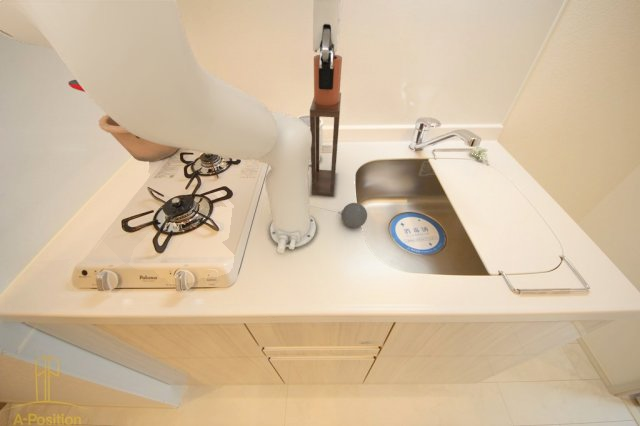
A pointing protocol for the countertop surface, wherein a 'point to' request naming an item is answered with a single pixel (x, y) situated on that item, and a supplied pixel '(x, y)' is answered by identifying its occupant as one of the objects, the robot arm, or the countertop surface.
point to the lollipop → (353, 215)
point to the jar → (307, 120)
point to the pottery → (136, 142)
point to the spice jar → (333, 95)
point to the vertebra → (480, 151)
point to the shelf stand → (320, 178)
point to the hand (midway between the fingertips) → (327, 82)
